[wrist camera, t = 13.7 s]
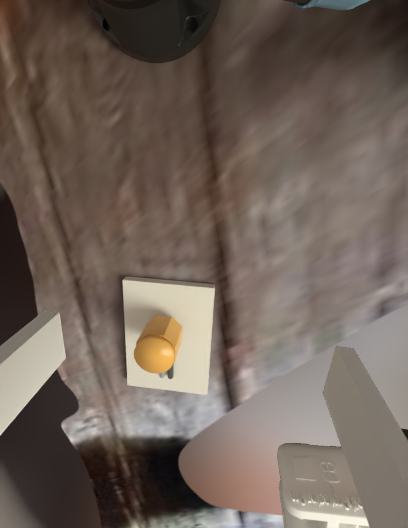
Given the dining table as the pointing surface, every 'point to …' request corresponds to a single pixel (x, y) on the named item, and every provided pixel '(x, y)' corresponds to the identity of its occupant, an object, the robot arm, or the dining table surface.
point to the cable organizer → (318, 488)
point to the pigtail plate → (186, 314)
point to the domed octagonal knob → (158, 344)
